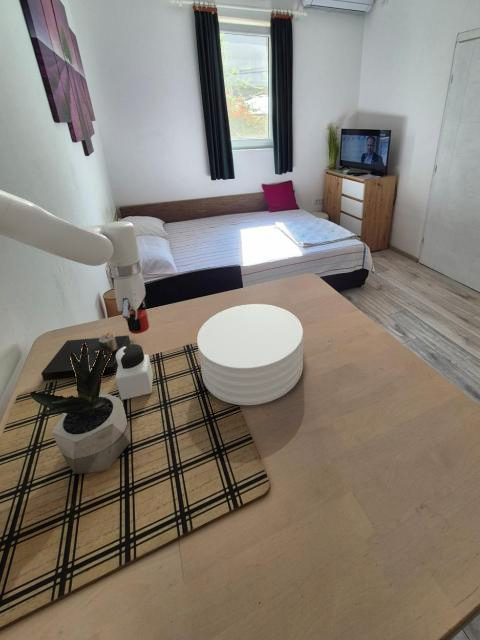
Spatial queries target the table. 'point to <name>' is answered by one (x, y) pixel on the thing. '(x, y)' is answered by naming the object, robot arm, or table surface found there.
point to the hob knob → (108, 343)
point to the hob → (62, 363)
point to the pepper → (141, 320)
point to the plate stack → (251, 353)
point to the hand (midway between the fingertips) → (138, 324)
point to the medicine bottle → (133, 372)
